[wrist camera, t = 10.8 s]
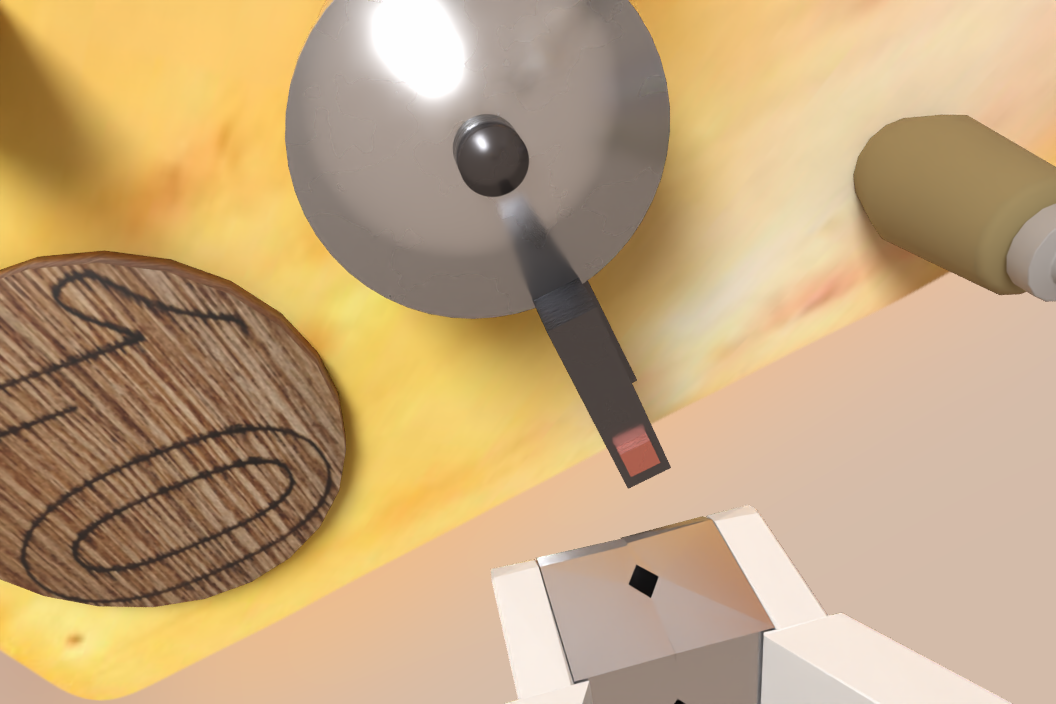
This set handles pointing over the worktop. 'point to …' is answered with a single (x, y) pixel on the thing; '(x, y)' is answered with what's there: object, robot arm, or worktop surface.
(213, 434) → the trivet
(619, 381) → the lid
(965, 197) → the squeeze bottle
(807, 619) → the robot arm
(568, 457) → the worktop surface
